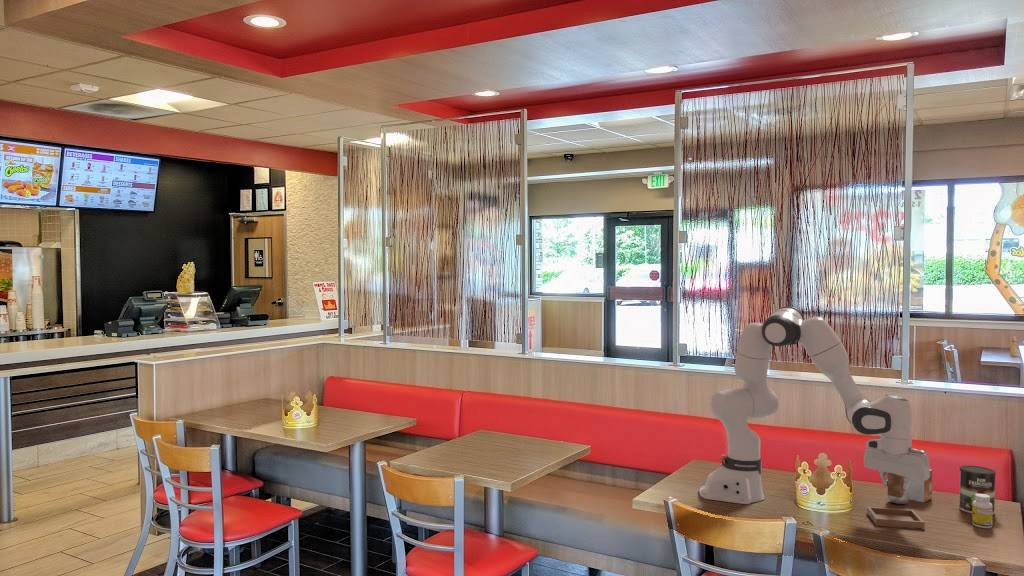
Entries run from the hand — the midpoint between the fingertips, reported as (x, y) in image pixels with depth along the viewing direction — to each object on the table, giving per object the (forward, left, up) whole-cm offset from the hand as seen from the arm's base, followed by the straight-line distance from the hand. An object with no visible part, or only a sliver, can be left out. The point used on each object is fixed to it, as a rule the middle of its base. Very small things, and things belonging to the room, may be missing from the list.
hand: (895, 487), depth 236 cm
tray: (0, 0, -11) cm, 11 cm away
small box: (+15, +27, -11) cm, 33 cm away
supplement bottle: (+26, +2, -11) cm, 28 cm away
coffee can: (+30, +18, -11) cm, 37 cm away
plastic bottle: (+6, +20, -11) cm, 24 cm away
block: (0, 0, -2) cm, 2 cm away
